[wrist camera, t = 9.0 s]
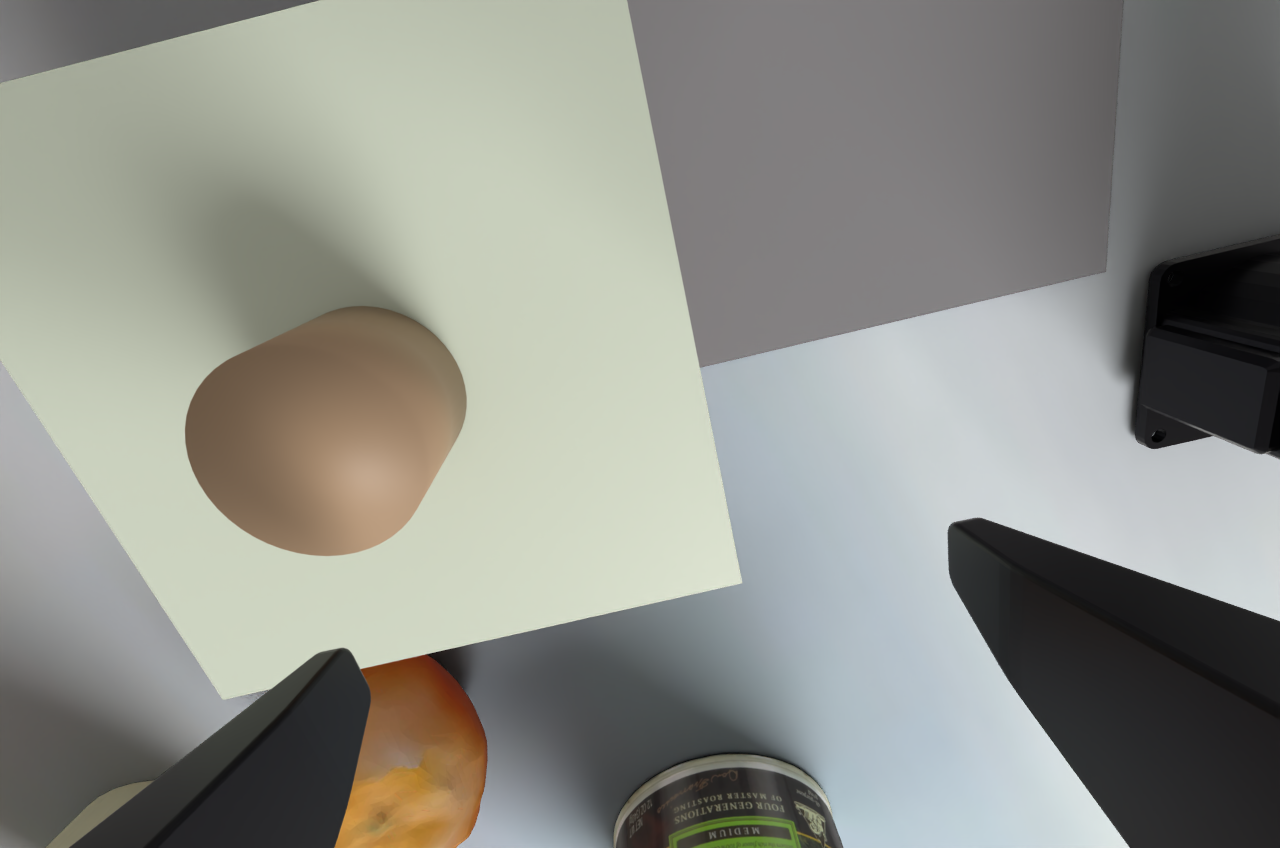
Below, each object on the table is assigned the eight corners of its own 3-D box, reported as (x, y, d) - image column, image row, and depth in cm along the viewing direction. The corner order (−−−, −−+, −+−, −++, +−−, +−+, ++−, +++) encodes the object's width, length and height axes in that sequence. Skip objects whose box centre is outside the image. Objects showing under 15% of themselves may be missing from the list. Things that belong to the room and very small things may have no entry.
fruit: (184, 717, 22) (137, 876, 15) (375, 570, 25) (409, 647, 18) (329, 842, 25) (346, 1023, 18) (486, 697, 28) (553, 805, 21)
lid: (611, -53, 11) (616, -182, 7) (733, 558, 15) (775, 678, 12) (-91, 128, 11) (-449, 99, 7) (245, 669, 16) (134, 819, 12)
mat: (1124, -333, 14) (1146, -354, 13) (1091, 269, 19) (1106, 271, 19) (540, -177, 14) (538, -192, 14) (662, 370, 20) (664, 376, 19)
